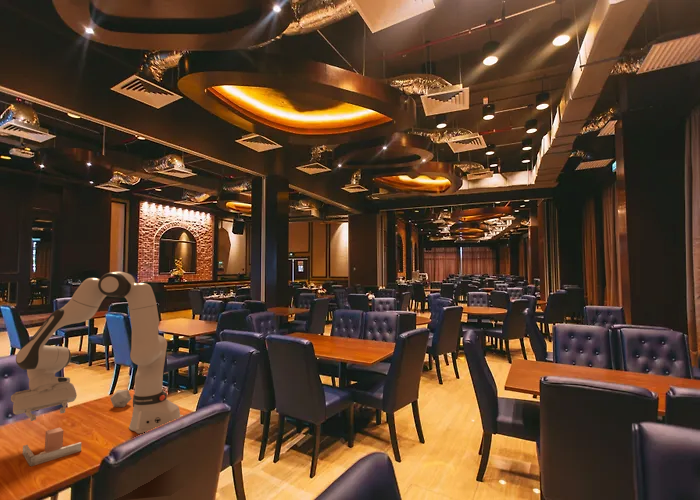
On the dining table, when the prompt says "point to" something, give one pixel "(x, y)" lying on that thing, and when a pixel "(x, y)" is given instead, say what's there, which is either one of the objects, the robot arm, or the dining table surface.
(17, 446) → the dining table surface
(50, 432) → the block
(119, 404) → the grey faceted polyhedron
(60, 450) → the corner wall
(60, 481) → the dining table surface
